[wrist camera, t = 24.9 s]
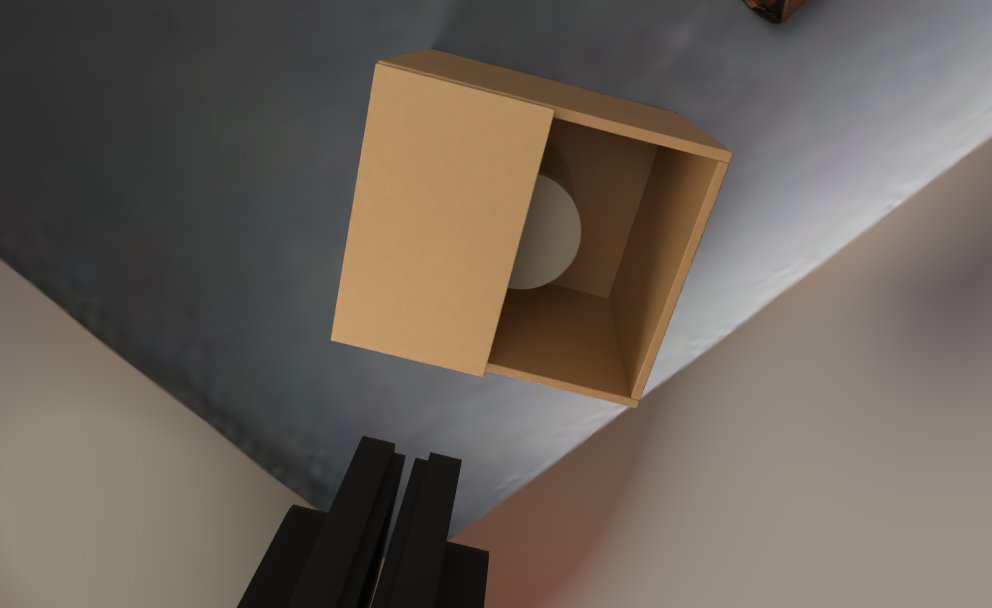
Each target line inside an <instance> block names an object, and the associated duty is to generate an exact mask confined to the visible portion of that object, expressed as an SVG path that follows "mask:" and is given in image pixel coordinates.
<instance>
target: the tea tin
mask: <svg viewBox="0 0 992 608" xmlns="http://www.w3.org/2000/svg"><path fill="white" fill-rule="evenodd" d="M581 237H582V223H581V218H580V212H579V209H578V206H577V203H576V201H575V196H574V190H573V184H572V178H571V173H570V169H569V166H568V164H567V162H566V160H565V159H564V157H563V156H562V155H561V154H560V152H559V151H558V150H556V149H555V148H554V147H553V146H551V145H550V144H548V143H546V146H545V150H544V153H543V157H542V161H541V165H540V168H539V172H538V176H537V179H536V183H535V187H534V191H533V194H532V198H531V202H530V206H529V209H528V213H527V217H526V221H525V224H524V228H523V232H522V235H521V239H520V243H519V247H518V250H517V254H516V258H515V262H514V265H513V269H512V273H511V276H510V280H509V284H508V288H511V289H531V288H536V287H539V286H543V285H545V284H547V283H549V282H551V281H553V280H555V279H556V278H558V277H559V276H560V275H561V274H563V273H564V272H565V271H566V270H567V268H568V267H569V266H570V265H571V263H572V262H573V260H574V258H575V257H576V255H577V252H578V250H579V247H580V243H581Z"/></svg>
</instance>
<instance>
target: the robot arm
mask: <svg viewBox="0 0 992 608" xmlns="http://www.w3.org/2000/svg"><path fill="white" fill-rule="evenodd" d="M394 450H395V443H391V442H387V441H383V440H378V439H374V438H370V437H366V436H363V437H362V439H361V441H360V443H359V445H358V448H357V450H356V452H355V454H354V457H353V459H352V461H351V463H350V466H349V468H348V470H347V473H346V475H345V477H344V479H343V482H342V484H341V486H340V488H339V491H338V493H337V495H336V497H335V500H334V502H333V504H332V506H331V509H330V511H329V513H327V512H322V511H318V510H314V509H310V508H305V507H301V506H297V505H293V506H291V508H290V509H289V511H288V512H287V514H286V516H285V518H284V520H283V521H282V523H281V525H280V527H279V529H278V531H277V533H276V534H275V536H274V538H273V540H272V542H271V544H270V546H269V548H268V550H267V552H266V553H265V556H264V557H263V559H262V561H261V563H260V565H259V567H258V569H257V570H256V573H255V574H254V576H253V578H252V580H251V582H250V584H249V586H248V587H247V589H246V591H245V593H244V595H243V597H242V599H241V601H240V603H239V605H238V606H237V608H369V607H370V604H371V601H372V598H373V594H374V591H375V586H376V583H377V579H378V575H379V571H380V566H381V562H382V558H383V553H384V549H385V544H386V540H387V536H388V531H389V527H390V523H391V518H392V514H393V509H394V505H395V501H396V496H397V492H398V487H399V483H400V479H401V474H402V470H403V466H404V461H405V455H402V454H398V453H394ZM461 462H462V460H461V459H457V458H452V457H448V456H444V455H440V454H436V453H432V452H430V455H429V459H428V461H427V460H423V459H419V458H415V461H414V465H413V468H412V471H411V475H410V478H409V481H408V485H407V488H406V491H405V495H404V498H403V501H402V505H401V508H400V511H399V515H398V518H397V521H396V525H395V528H394V531H393V535H392V538H391V541H390V545H389V548H388V551H387V555H386V558H385V562H384V565H383V569H382V571H381V575H380V578H379V581H378V585H377V588H376V591H375V595H374V598H373V601H372V605H371V608H484V599H485V590H486V581H487V571H488V561H489V552H488V551H485V550H481V549H477V548H473V547H468V546H464V545H460V544H456V543H452V542H448V541H447V535H448V530H449V525H450V520H451V515H452V509H453V504H454V499H455V494H456V488H457V483H458V478H459V473H460V468H461Z"/></svg>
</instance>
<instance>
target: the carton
mask: <svg viewBox="0 0 992 608" xmlns="http://www.w3.org/2000/svg"><path fill="white" fill-rule="evenodd" d="M378 63H381V64H385V65H389V66H393V67H396V68H400V69H404V70H408V71H412V72H416V73H420V74H424V75H427V76H431V77H435V78H439V79H443V80H447V81H451V82H454V83H458V84H462V85H466V86H470V87H474V88H478V89H481V90H485V91H489V92H493V93H497V94H501V95H505V96H509V97H512V98H516V99H520V100H524V101H528V102H532V103H536V104H539V105H543V106H547V107H551V108H554V109H555V112H554V116H553V120H552V124H551V127H550V131H549V135H548V138H547V142H546V143H548V144H550V145H551V146H553V147H554V148H555V149H556V150H558V151H559V152H560V154H561V155H562V156H563V157H564V159H565V160H566V162H567V164H568V166H569V169H570V173H571V178H572V184H573V190H574V196H575V201H576V203H577V206H578V209H579V212H580V218H581V223H582V237H581V243H580V247H579V250H578V252H577V255H576V257H575V258H574V260H573V262H572V263H571V265H570V266H569V267H568V268H567V270H566V271H565V272H564V273H563V274H561V275H560V276H559V277H558V278H556V279H555V280H553V281H551V282H549V283H547V284H545V285H543V286H539V287H536V288H531V289H511V288H507V291H506V295H505V299H504V303H503V306H502V310H501V314H500V317H499V321H498V325H497V329H496V332H495V336H494V340H493V344H492V347H491V351H490V355H489V358H488V362H487V366H486V370H485V371H489V372H493V373H497V374H501V375H505V376H509V377H513V378H517V379H521V380H525V381H529V382H533V383H537V384H541V385H545V386H549V387H553V388H558V389H562V390H566V391H570V392H574V393H578V394H582V395H586V396H590V397H594V398H598V399H602V400H606V401H610V402H614V403H618V404H622V405H626V406H630V407H634V408H637V406H638V403H639V400H640V398H641V396H642V393H643V390H644V388H645V385H646V382H647V380H648V377H649V374H650V372H651V369H652V366H653V364H654V361H655V359H656V356H657V353H658V351H659V348H660V345H661V343H662V340H663V337H664V335H665V332H666V329H667V327H668V324H669V321H670V319H671V316H672V314H673V311H674V308H675V306H676V303H677V300H678V298H679V295H680V292H681V290H682V287H683V284H684V282H685V279H686V276H687V274H688V271H689V269H690V266H691V263H692V261H693V258H694V255H695V253H696V250H697V247H698V245H699V242H700V239H701V237H702V234H703V232H704V229H705V226H706V224H707V221H708V218H709V216H710V213H711V210H712V208H713V205H714V202H715V200H716V197H717V194H718V192H719V189H720V187H721V184H722V181H723V179H724V176H725V173H726V171H727V168H728V165H729V162H730V160H731V157H732V155H733V152H732V151H730V150H729V149H728V148H726V147H725V146H723V145H722V144H720V143H719V142H717V141H716V140H715V139H713V138H712V137H710V136H709V135H707V134H706V133H704V132H703V131H702V130H700V129H699V128H697V127H696V126H694V125H693V124H691V123H690V122H689V121H687V120H686V119H684V118H683V117H681V116H680V115H678V114H677V113H675V112H671V111H668V110H664V109H660V108H656V107H652V106H648V105H645V104H641V103H637V102H633V101H629V100H625V99H622V98H618V97H614V96H610V95H606V94H603V93H599V92H595V91H591V90H587V89H583V88H580V87H576V86H572V85H568V84H564V83H560V82H557V81H553V80H549V79H545V78H541V77H537V76H534V75H530V74H526V73H522V72H518V71H514V70H511V69H507V68H503V67H499V66H495V65H491V64H488V63H484V62H480V61H476V60H472V59H468V58H465V57H461V56H457V55H453V54H449V53H446V52H442V51H438V50H434V49H427V50H423V51H418V52H414V53H409V54H405V55H400V56H396V57H391V58H387V59H383V60H379V61H378Z"/></svg>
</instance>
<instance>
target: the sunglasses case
mask: <svg viewBox="0 0 992 608" xmlns="http://www.w3.org/2000/svg"><path fill="white" fill-rule="evenodd" d="M743 1H744V2H745V3H746V5H747V6H748V7H749V8H750V9H752V10H754V11H755V12H756V13H757V14H758V15H759V16H761V17H763V18H765V19H766V20H768V21H770V22H771V23H775V24H780V23H783V22H785V21H786V20H787V19H788V18H789V17H790V16H791V15H792V14H793V13H794V12H795V11H796V10H797V9H798V8H799V7H800V6H802V5H803V4H804V3H805V2H806V1H807V0H743Z"/></svg>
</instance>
